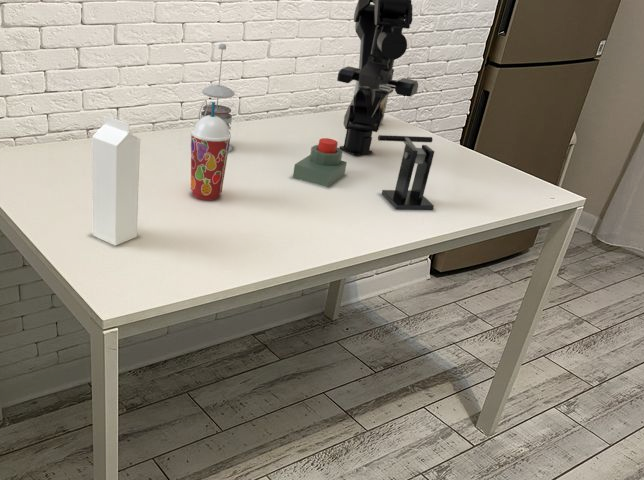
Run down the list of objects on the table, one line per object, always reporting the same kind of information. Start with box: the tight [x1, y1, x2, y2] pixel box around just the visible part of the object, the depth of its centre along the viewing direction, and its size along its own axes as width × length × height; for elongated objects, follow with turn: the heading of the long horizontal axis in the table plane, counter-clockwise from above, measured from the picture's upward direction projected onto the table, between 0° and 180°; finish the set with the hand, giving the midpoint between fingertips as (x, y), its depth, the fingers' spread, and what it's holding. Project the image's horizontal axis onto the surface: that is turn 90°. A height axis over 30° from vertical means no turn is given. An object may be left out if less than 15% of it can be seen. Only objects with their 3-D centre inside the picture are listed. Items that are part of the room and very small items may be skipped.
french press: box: [198, 43, 236, 153], centre depth 181 cm, size 10×12×25 cm
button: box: [317, 137, 339, 154], centre depth 176 cm, size 4×4×2 cm
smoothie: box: [190, 101, 232, 201], centre depth 155 cm, size 8×8×20 cm
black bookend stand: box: [381, 144, 435, 211], centre depth 165 cm, size 9×9×13 cm
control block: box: [292, 144, 347, 188], centre depth 176 cm, size 12×9×6 cm
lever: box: [377, 134, 433, 165], centre depth 165 cm, size 10×13×2 cm
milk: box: [91, 115, 141, 246], centre depth 133 cm, size 6×6×22 cm
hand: (370, 117), depth 182 cm, fingers closed
